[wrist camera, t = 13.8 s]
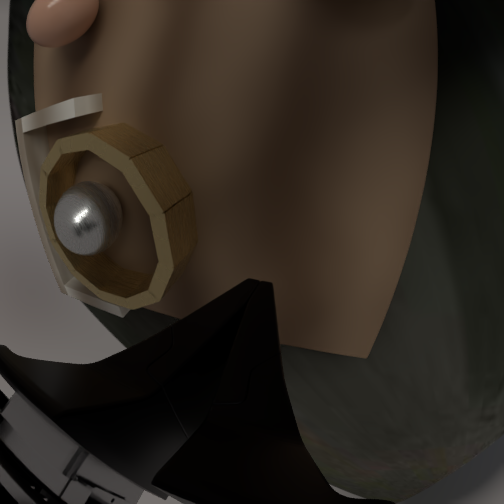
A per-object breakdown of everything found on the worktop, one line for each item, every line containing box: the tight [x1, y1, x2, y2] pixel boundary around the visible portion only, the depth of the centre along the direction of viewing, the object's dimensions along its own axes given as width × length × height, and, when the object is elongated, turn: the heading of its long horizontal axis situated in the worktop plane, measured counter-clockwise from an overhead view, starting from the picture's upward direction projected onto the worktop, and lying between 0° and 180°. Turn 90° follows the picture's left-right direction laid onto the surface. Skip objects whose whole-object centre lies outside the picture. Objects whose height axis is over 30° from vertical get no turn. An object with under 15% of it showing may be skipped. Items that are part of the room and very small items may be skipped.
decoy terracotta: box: [26, 0, 99, 48], centre depth 8 cm, size 4×4×4 cm
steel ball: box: [54, 181, 123, 255], centre depth 13 cm, size 4×4×4 cm
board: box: [15, 0, 438, 358], centre depth 12 cm, size 23×22×3 cm
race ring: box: [39, 123, 198, 310], centre depth 14 cm, size 10×10×2 cm
